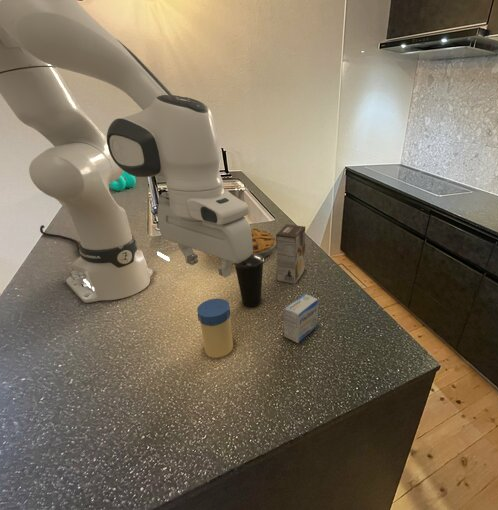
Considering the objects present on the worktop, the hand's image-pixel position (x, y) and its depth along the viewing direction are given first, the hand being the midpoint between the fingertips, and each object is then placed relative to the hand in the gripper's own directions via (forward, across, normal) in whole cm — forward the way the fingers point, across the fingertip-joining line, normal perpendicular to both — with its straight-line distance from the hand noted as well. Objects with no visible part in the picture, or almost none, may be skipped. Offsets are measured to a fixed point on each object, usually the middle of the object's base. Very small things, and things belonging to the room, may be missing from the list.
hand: (208, 269), depth 60 cm
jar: (+21, 0, 0) cm, 21 cm away
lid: (+10, 0, 0) cm, 10 cm away
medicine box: (+21, +13, +14) cm, 28 cm away
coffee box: (+21, -4, +35) cm, 41 cm away
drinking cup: (+21, -5, +17) cm, 27 cm away
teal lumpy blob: (+20, -128, +60) cm, 143 cm away
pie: (+21, -28, +41) cm, 54 cm away
